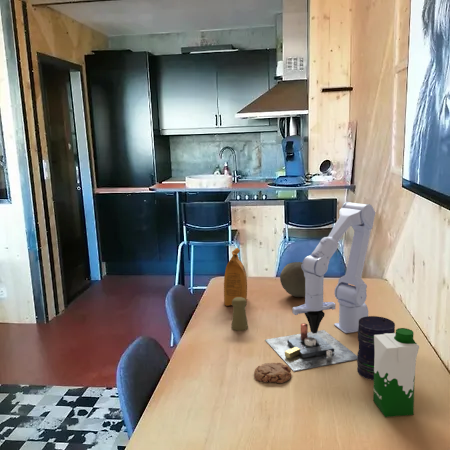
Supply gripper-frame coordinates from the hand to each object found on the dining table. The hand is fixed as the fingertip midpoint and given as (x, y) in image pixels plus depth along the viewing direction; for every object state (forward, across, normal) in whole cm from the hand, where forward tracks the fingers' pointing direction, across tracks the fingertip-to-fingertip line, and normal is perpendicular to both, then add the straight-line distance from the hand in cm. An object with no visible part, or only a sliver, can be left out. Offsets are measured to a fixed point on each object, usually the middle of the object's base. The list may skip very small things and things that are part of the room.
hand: (313, 332), depth 148 cm
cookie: (+4, +21, +15) cm, 26 cm away
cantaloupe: (+4, -14, -41) cm, 43 cm away
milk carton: (+4, -1, +40) cm, 40 cm away
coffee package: (+4, +12, -45) cm, 47 cm away
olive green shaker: (+4, +19, -20) cm, 28 cm away
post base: (+3, +4, +4) cm, 7 cm away
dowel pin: (+3, +2, +13) cm, 13 cm away
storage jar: (+4, -7, +23) cm, 25 cm away
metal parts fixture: (+3, +6, +4) cm, 8 cm away
